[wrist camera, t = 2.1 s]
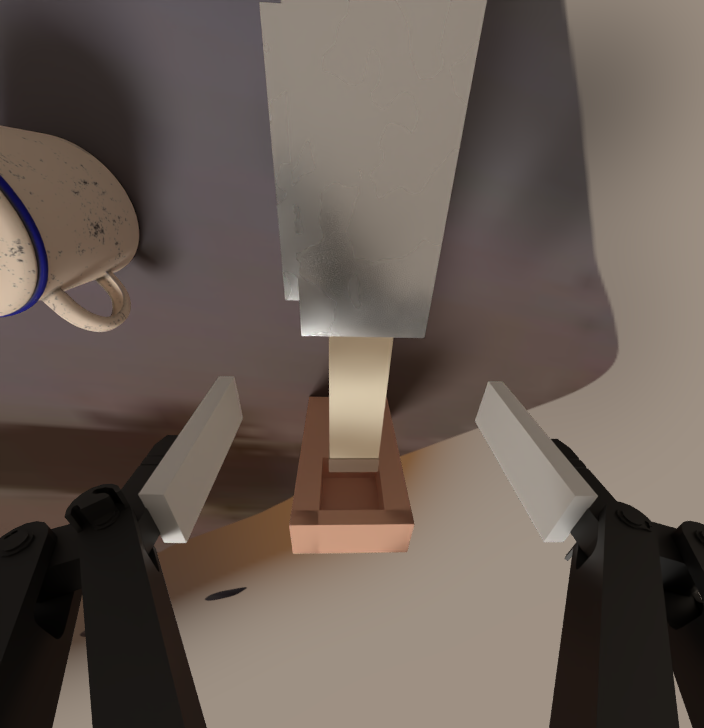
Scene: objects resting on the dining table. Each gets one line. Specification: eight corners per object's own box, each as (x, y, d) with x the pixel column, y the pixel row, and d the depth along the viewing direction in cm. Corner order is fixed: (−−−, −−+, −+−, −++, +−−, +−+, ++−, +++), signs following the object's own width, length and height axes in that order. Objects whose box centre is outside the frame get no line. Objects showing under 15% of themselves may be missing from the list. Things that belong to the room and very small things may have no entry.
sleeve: (293, 78, 17) (210, -108, 6) (425, 86, 17) (560, -78, 7) (302, 265, 23) (267, 335, 12) (403, 268, 23) (456, 338, 12)
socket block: (309, 396, 29) (289, 525, 18) (386, 397, 30) (414, 524, 19) (310, 422, 31) (293, 553, 20) (383, 422, 32) (406, 552, 20)
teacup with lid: (-33, 181, 19) (-432, 173, 9) (54, 94, 17) (-340, -36, 7) (121, 325, 25) (-25, 416, 15) (201, 272, 23) (92, 338, 13)
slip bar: (329, 74, 11) (325, 37, 8) (409, 79, 11) (431, 45, 8) (330, 436, 21) (328, 472, 18) (373, 436, 21) (377, 472, 18)
